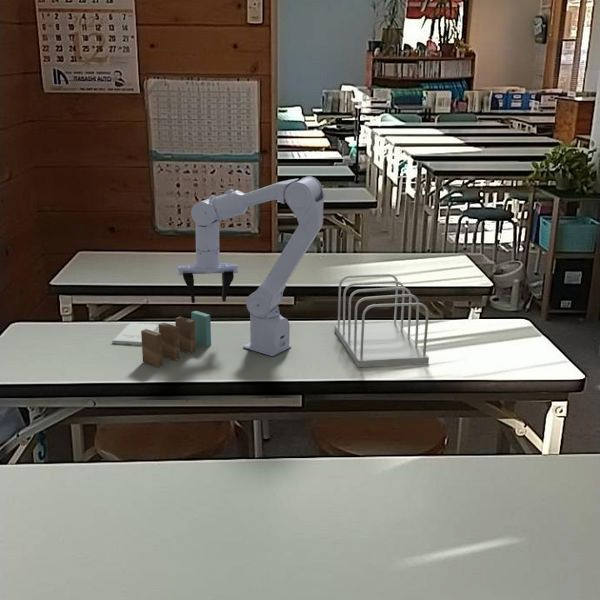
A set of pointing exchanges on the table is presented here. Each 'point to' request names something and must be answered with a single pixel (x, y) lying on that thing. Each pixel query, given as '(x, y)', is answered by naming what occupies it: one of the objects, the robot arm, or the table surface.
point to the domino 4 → (202, 328)
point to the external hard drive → (133, 333)
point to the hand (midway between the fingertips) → (208, 301)
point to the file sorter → (381, 330)
